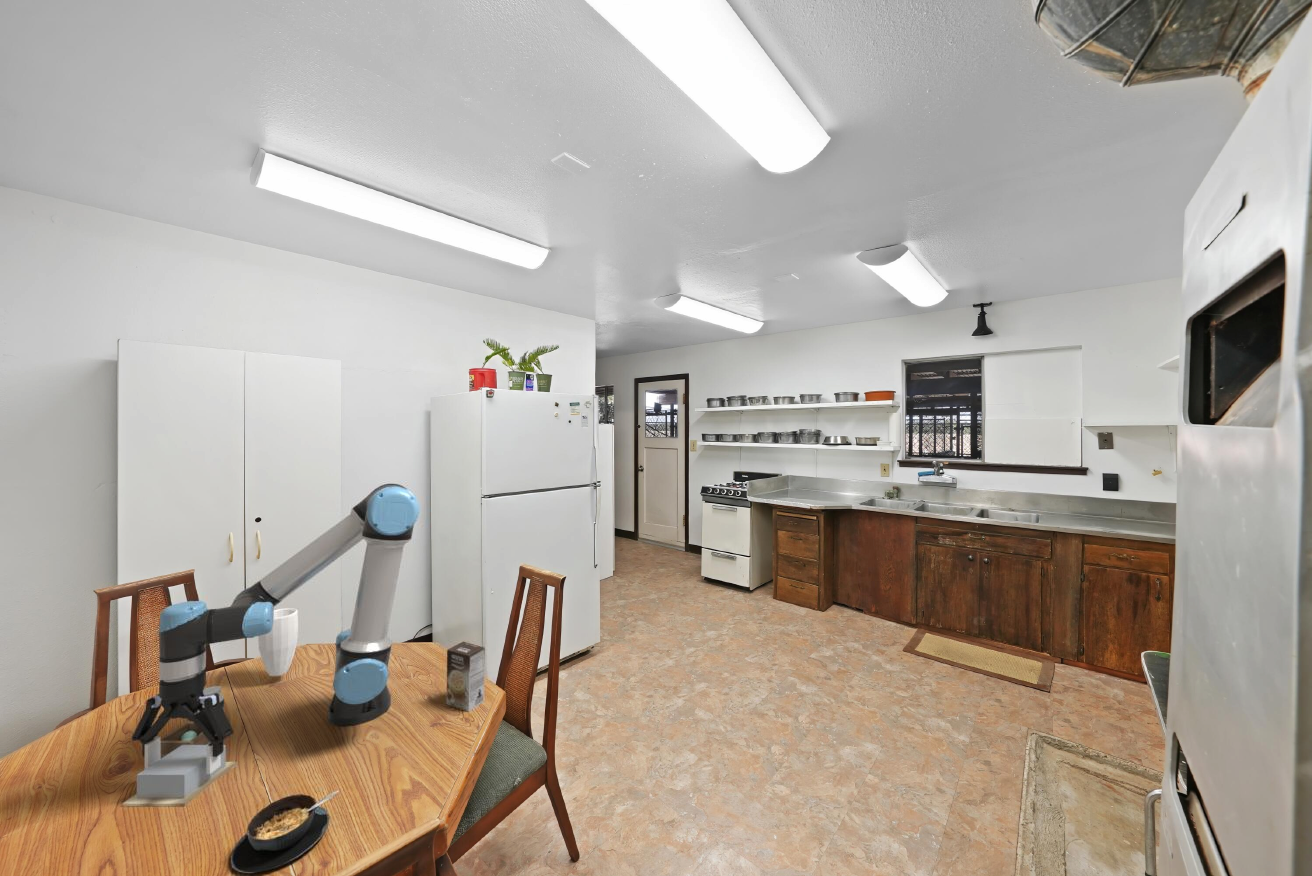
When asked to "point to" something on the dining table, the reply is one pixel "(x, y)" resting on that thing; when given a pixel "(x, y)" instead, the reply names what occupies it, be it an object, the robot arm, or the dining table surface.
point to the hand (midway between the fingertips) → (183, 770)
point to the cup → (280, 642)
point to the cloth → (178, 801)
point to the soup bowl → (280, 833)
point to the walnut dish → (173, 738)
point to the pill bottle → (213, 690)
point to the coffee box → (465, 676)
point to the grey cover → (176, 773)
